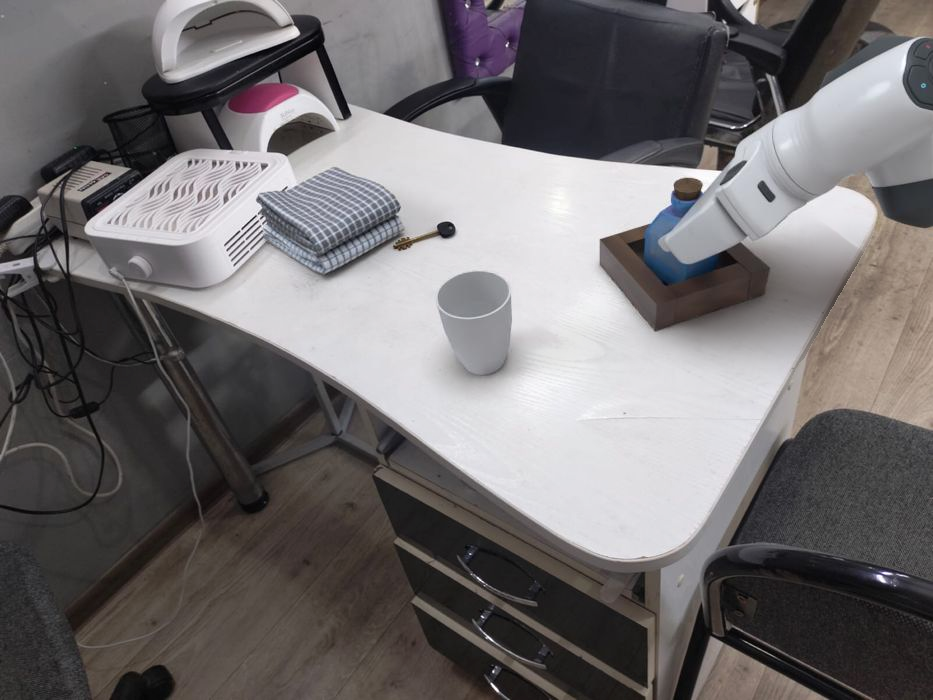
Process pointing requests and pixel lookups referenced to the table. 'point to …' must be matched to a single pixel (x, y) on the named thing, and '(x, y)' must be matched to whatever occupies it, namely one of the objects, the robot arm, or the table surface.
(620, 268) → the stand
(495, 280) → the cup
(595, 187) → the table surface
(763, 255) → the table surface
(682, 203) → the perfume bottle
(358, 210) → the towel
